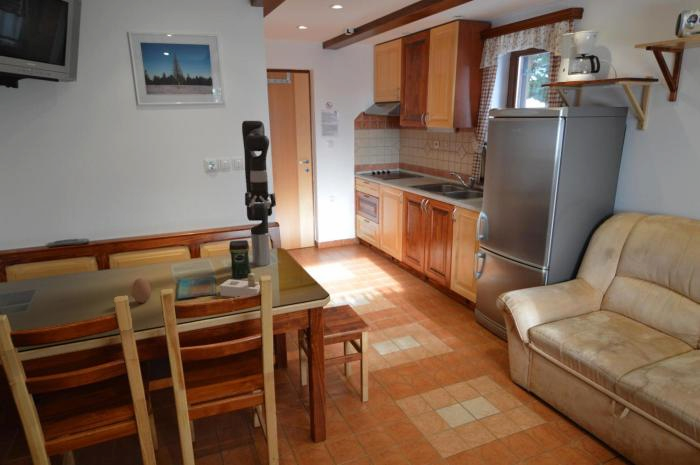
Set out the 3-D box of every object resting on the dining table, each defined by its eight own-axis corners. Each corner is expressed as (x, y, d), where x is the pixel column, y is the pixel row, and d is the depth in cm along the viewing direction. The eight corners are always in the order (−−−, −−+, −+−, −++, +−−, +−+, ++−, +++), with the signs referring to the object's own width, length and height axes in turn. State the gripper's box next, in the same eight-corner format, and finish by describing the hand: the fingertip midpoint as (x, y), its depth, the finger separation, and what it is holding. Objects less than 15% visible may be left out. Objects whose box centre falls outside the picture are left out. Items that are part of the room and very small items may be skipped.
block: (229, 289, 200) (228, 279, 199) (265, 293, 196) (265, 282, 194) (220, 296, 192) (219, 285, 191) (257, 300, 188) (257, 289, 187)
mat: (234, 279, 212) (234, 278, 212) (253, 281, 210) (253, 280, 210) (224, 287, 203) (223, 286, 203) (243, 289, 200) (243, 288, 200)
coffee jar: (251, 273, 221) (249, 238, 217) (250, 278, 214) (248, 242, 209) (232, 274, 220) (229, 239, 215) (230, 279, 212) (227, 243, 207)
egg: (130, 302, 186) (127, 278, 184) (148, 297, 191) (145, 274, 189) (136, 307, 181) (133, 283, 178) (155, 302, 186) (152, 278, 183)
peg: (250, 294, 195) (249, 273, 192) (257, 294, 194) (255, 273, 192) (247, 296, 192) (246, 275, 189) (254, 297, 191) (252, 275, 189)
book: (215, 279, 214) (214, 274, 214) (217, 297, 193) (217, 291, 192) (178, 283, 209) (177, 278, 208) (176, 302, 187) (175, 297, 187)
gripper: (277, 179, 198) (278, 214, 202) (248, 178, 201) (250, 212, 205) (270, 182, 191) (271, 217, 195) (240, 180, 194) (243, 216, 198)
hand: (261, 215), depth 200 cm, fingers open, 8 cm apart
